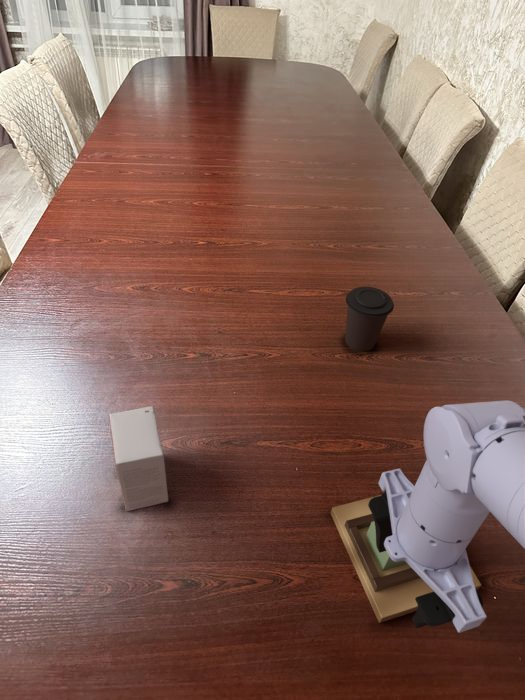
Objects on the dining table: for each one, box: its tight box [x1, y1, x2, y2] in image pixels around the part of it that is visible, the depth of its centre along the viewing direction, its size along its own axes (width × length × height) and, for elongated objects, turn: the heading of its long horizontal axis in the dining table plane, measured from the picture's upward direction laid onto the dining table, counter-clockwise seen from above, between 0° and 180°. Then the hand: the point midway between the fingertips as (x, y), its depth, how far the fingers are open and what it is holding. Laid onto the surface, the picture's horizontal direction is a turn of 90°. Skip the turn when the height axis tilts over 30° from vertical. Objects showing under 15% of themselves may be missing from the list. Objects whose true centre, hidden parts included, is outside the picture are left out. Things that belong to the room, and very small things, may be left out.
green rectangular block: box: [366, 521, 407, 571], centre depth 62 cm, size 4×8×4 cm, turn 108°
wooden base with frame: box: [330, 494, 482, 624], centre depth 64 cm, size 14×13×3 cm
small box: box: [108, 405, 169, 512], centre depth 66 cm, size 8×6×10 cm
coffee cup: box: [344, 286, 395, 352], centre depth 90 cm, size 8×8×10 cm
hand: (404, 582), depth 52 cm, fingers open, 7 cm apart
